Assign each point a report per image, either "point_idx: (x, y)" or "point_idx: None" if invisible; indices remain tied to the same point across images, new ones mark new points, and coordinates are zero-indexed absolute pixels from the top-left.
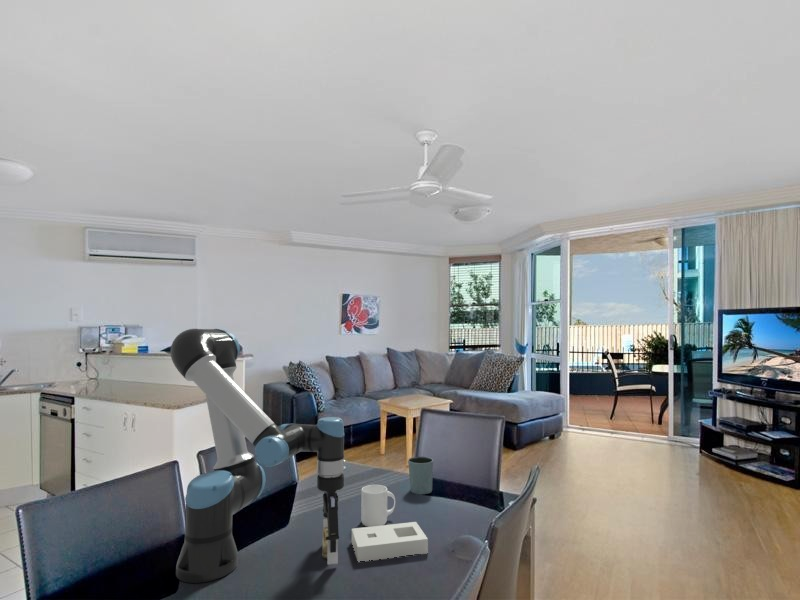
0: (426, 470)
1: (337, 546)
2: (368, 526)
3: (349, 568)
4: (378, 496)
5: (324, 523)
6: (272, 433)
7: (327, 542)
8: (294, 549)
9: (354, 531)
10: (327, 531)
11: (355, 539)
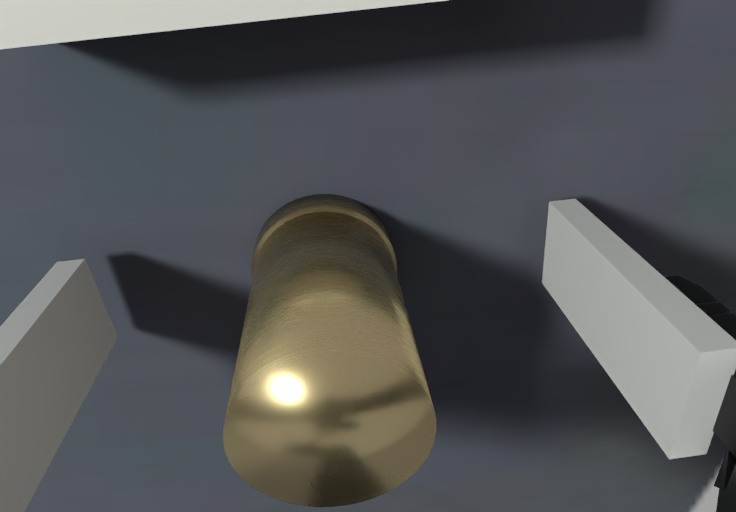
0: None
1: (665, 283)
2: None
3: (614, 77)
4: None
5: (31, 483)
6: None
7: (646, 415)
8: (206, 486)
9: (34, 9)
10: (398, 457)
11: (349, 7)
